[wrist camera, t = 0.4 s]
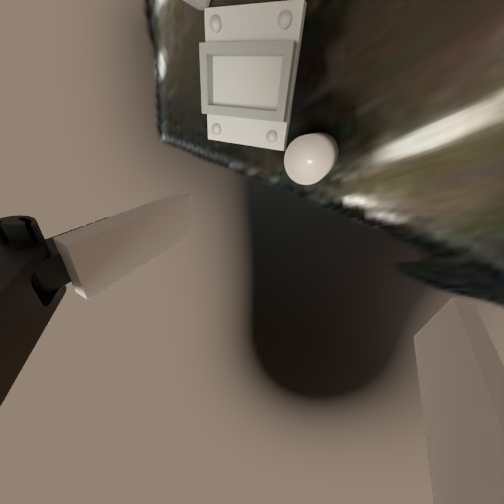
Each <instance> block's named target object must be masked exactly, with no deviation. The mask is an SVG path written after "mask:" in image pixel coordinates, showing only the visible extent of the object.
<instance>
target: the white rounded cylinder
mask: <svg viewBox="0 0 504 504" xmlns="http://www.w3.org/2000/svg"><path fill="white" fill-rule="evenodd" d="M338 156H339V149H338V145H337V143H336V141H335V139H334V138H333V137H332V136H330V135H329V134H326V133H323V132H317V133H312V134H306V135H302V136H300V137H298V138H296V139H295V140H293V141H292V142H291V143H290V145H289V146H288V148H287V150H286V152H285V156H284V166H285V170H286V172H287V174H288V176H289V177H290V178H291V179H292V180H293V181H295V182H296V183H299V184H302V185H310V184H314V183H316V182H318V181H319V180H321V179H322V178H323V177H324V176H325V175H326V174H327V173H328V172H330V171H331V170H332V169H333V167H334V166H335V164H336V162H337V160H338Z"/></svg>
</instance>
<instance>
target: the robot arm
mask: <svg viewBox="0 0 504 504" xmlns="http://www.w3.org/2000/svg"><path fill="white" fill-rule="evenodd" d="M191 236H192V195H191V194H188V193H186V192H183V191H180V192H178V193H175V194H172V195H169V196H167V197H164V198H161V199H159V200H156V201H153V202H150V203H147V204H145V205H142V206H139V207H136V208H134V209H131V210H128V211H126V212H123V213H120V214H117V215H115V216H111V217H107V218H104V219H101V220H98V221H96V222H95V223H90V224H87V225H86V226H82V227H79V228H76V229H73V230H71V231H68V232H65V233H62V234H60V235H57V236H54V237H51V238H48V239H44V237H43V235H42V233H41V230H40V228H39V226H38V223H37V221H36V220H35V218H32V217H30V216H10V217H4V218H0V406H1V404H2V402H3V401H4V399H5V397H6V395H7V394H8V392H9V390H10V388H11V387H12V385H13V383H14V381H15V380H16V378H17V376H18V374H19V373H20V371H21V369H22V367H23V366H24V364H25V362H26V360H27V359H28V357H29V355H30V354H31V352H32V350H33V348H34V347H35V345H36V343H37V341H38V340H39V338H40V336H41V334H42V333H43V331H44V329H45V327H46V326H47V324H48V322H49V320H50V318H51V317H52V315H53V313H54V312H55V310H56V308H57V306H58V305H59V303H60V301H61V299H62V298H63V296H64V294H65V292H66V286H65V284H67V283H69V282H72V284H73V287H74V289H75V291H76V292H77V293H78V294H80V295H81V296H83V297H84V298H86V299H87V300H88V299H89V298H91V297H92V296H94V295H96V294H97V293H99V292H101V291H102V290H104V289H106V288H107V287H109V286H111V285H112V284H114V283H115V282H117V281H119V280H120V279H122V278H124V277H125V276H127V275H129V274H130V273H132V272H133V271H135V270H137V269H138V268H140V267H142V266H143V265H145V264H147V263H148V262H150V261H151V260H153V259H155V258H156V257H158V256H160V255H161V254H163V253H164V252H166V251H168V250H169V249H171V248H173V247H174V246H176V245H177V244H179V243H181V242H183V241H184V240H186V239H187V238H189V237H191ZM414 344H415V352H416V360H417V368H418V376H419V384H420V393H421V402H422V409H423V418H424V427H425V435H426V443H427V450H428V459H429V468H430V475H431V484H432V493H433V501H434V504H504V366H503V364H502V361H501V359H500V357H499V355H498V353H497V351H496V349H495V346H494V344H493V342H492V340H491V338H490V336H489V334H488V331H487V329H486V327H485V325H484V323H483V321H482V319H481V316H480V314H479V312H478V310H477V308H476V306H475V305H473V304H470V303H468V302H465V301H463V300H460V299H457V298H455V297H452V299H451V300H450V301H448V303H447V304H446V305H445V306H444V307H443V308H442V309H441V310H440V311H439V312H438V313H437V314H436V315H435V316H434V317H433V318H432V319H431V320H430V321H429V322H428V323H427V324H426V325H425V326H424V327H423V328H422V329H421V330H420V331H419V332H418V333H417V334H416V335H415V336H414Z"/></svg>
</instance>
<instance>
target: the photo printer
mask: <svg viewBox="0 0 504 504" xmlns="http://www.w3.org/2000/svg"><path fill="white" fill-rule="evenodd" d="M183 1H185V2H186V3H188V4H189V5H191V6H193V7H194V8H196V9H198V10H204V8H209V5H210V2H211V0H183Z"/></svg>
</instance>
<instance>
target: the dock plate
mask: <svg viewBox="0 0 504 504" xmlns="http://www.w3.org/2000/svg"><path fill="white" fill-rule="evenodd" d="M306 5H307V2H306V1H305V0H288V1H277V2H266V3H255V4H244V5H233V6H222V7H211V8H204V10H205V43H199V52H200V78H201V104H202V113H203V114H207V121H208V139H211V140H217V141H223V142H230V143H236V144H242V145H249V146H255V147H261V148H268V149H274V150H280V151H285V150H286V143H287V136H288V129H289V123H290V116H291V109H292V102H293V95H294V88H295V81H296V74H297V67H298V60H299V53H300V46H301V39H302V32H303V26H304V19H305V12H306Z"/></svg>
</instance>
